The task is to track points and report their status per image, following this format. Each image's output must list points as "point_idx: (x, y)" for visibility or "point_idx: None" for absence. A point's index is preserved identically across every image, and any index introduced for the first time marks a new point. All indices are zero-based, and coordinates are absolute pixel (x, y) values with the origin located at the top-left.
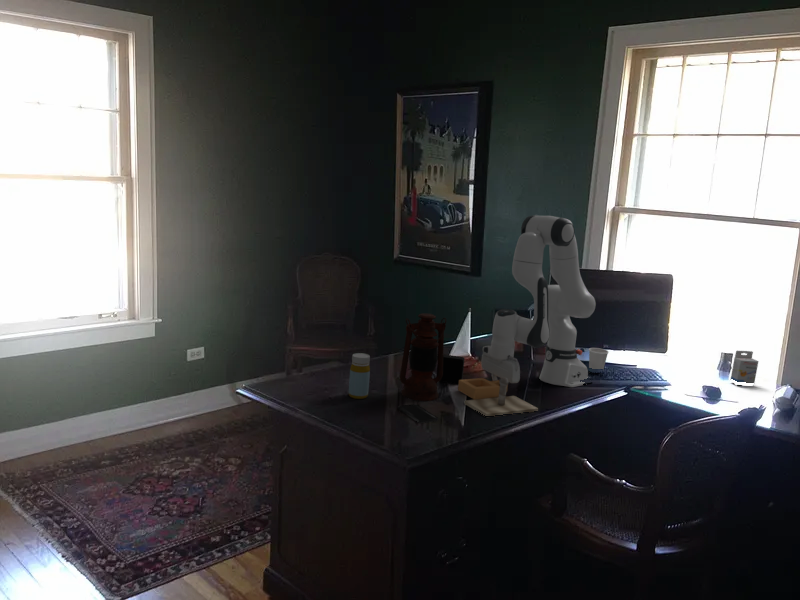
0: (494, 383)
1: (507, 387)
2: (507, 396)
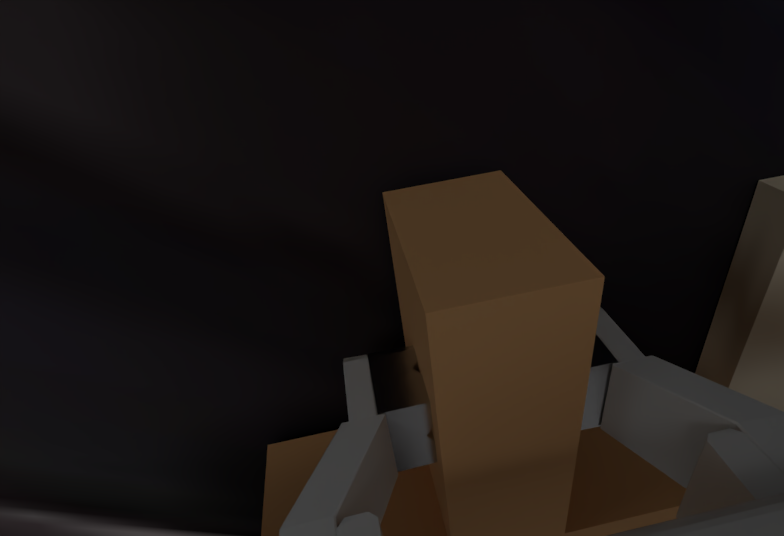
0: (561, 511)
1: (536, 208)
2: (761, 311)
